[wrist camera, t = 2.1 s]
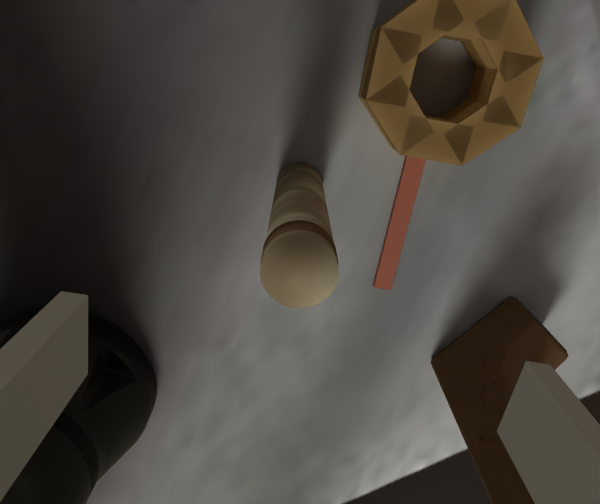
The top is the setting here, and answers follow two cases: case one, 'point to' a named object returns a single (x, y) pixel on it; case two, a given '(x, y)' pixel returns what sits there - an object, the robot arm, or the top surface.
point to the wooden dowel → (299, 241)
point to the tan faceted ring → (484, 87)
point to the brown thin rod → (399, 221)
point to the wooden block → (493, 388)
